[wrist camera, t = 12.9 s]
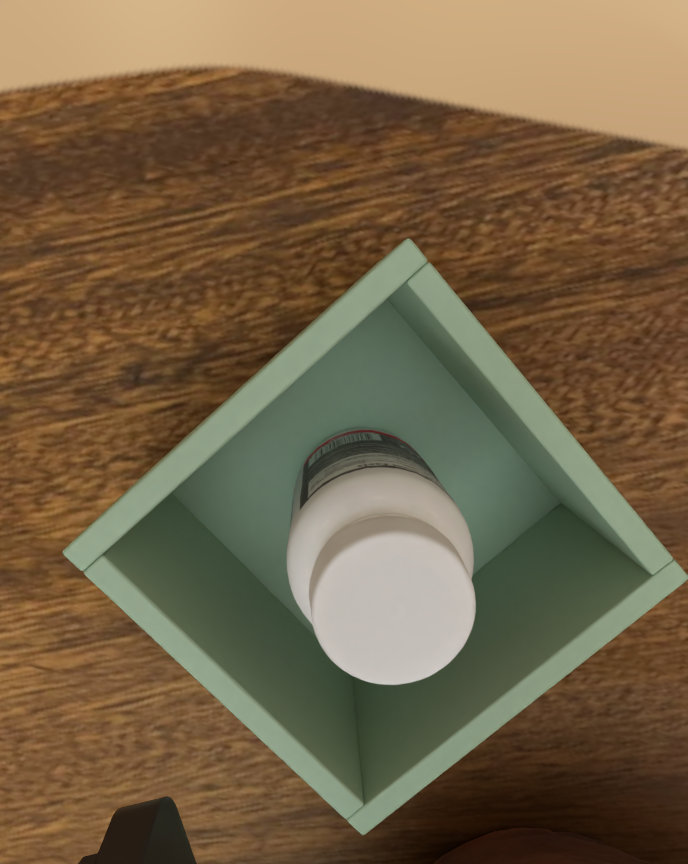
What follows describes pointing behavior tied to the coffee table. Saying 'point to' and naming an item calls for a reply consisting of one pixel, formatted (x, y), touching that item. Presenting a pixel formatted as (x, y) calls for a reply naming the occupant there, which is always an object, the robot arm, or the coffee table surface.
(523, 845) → the bowl
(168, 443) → the coffee table surface
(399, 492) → the pill bottle
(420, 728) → the bin
